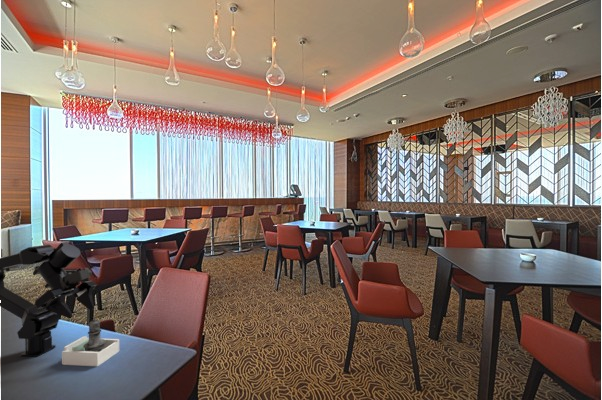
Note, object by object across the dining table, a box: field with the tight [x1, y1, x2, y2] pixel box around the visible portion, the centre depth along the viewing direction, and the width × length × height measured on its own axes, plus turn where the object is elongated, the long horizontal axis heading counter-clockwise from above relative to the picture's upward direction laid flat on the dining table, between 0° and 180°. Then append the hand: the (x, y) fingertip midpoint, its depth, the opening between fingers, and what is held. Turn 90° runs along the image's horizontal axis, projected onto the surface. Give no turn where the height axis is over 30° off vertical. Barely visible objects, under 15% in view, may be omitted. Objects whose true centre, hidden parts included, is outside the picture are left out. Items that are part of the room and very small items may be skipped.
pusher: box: [72, 337, 89, 351], centre depth 93 cm, size 1×7×4 cm, turn 174°
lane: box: [61, 335, 120, 367], centre depth 93 cm, size 12×9×5 cm
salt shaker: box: [83, 316, 106, 352], centre depth 93 cm, size 6×6×12 cm
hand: (82, 313), depth 95 cm, fingers open, 9 cm apart
